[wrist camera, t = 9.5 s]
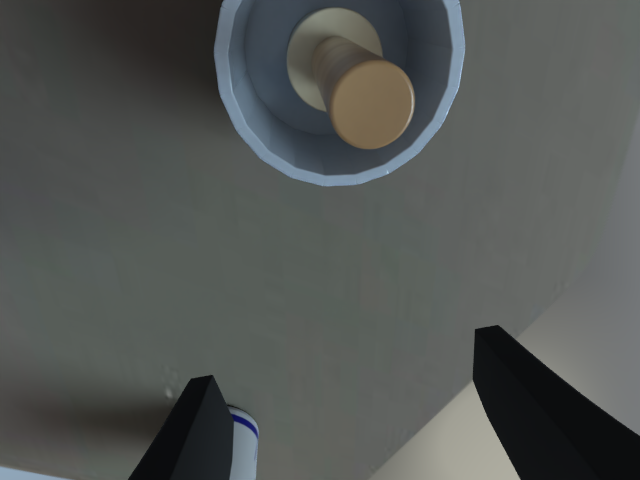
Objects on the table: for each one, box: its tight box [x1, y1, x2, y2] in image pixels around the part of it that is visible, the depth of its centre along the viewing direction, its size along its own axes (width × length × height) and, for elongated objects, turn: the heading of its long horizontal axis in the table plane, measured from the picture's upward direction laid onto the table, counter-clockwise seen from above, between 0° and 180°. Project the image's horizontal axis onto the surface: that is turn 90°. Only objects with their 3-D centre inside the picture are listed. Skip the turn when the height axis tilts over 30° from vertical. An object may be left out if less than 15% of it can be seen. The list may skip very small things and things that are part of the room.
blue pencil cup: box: [214, 0, 465, 186], centre depth 14 cm, size 7×7×6 cm
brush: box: [287, 7, 415, 149], centre depth 11 cm, size 3×3×10 cm
